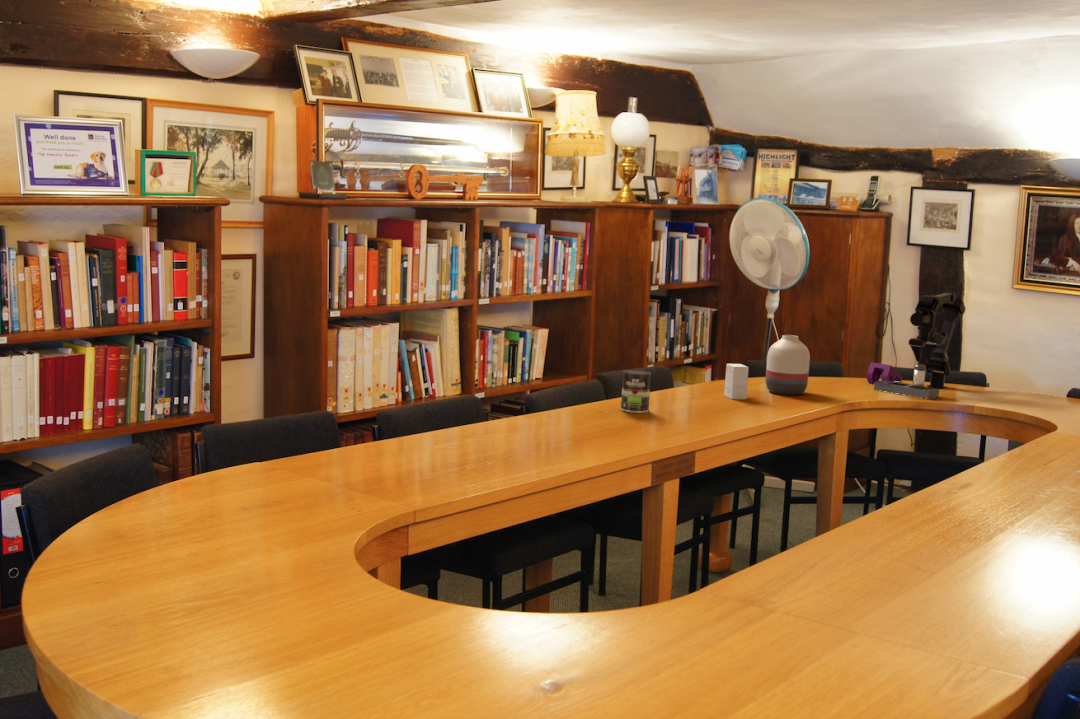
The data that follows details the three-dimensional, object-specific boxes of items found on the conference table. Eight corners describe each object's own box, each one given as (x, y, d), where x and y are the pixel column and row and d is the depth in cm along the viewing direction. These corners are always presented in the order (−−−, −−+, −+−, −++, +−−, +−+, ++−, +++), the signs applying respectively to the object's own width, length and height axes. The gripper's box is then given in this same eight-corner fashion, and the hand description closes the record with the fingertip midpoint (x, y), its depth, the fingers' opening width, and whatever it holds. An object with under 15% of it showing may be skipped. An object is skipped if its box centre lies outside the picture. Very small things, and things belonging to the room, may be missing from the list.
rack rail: (884, 387, 415) (885, 379, 414) (938, 397, 397) (939, 388, 397) (873, 390, 408) (874, 381, 408) (928, 399, 391) (929, 390, 390)
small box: (746, 399, 374) (749, 366, 372) (731, 399, 373) (733, 366, 371) (738, 395, 382) (741, 363, 380) (723, 395, 381) (726, 363, 379)
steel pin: (914, 394, 402) (917, 363, 400) (924, 395, 399) (928, 365, 397) (909, 395, 399) (912, 364, 397) (919, 397, 396) (923, 366, 394)
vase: (789, 388, 404) (794, 332, 400) (815, 396, 388) (820, 338, 385) (756, 389, 397) (760, 333, 394) (781, 397, 382) (786, 339, 378)
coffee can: (648, 414, 339) (650, 375, 337) (619, 411, 341) (621, 373, 338) (650, 408, 349) (652, 370, 347) (622, 406, 351) (624, 368, 348)
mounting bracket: (880, 393, 436) (865, 379, 423) (885, 376, 437) (870, 362, 425) (900, 396, 429) (885, 382, 417) (905, 379, 431) (890, 365, 418)
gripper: (935, 328, 395) (931, 365, 397) (955, 326, 408) (951, 362, 410) (909, 325, 403) (906, 361, 406) (930, 323, 416) (926, 358, 418)
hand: (923, 361), depth 410 cm, fingers open, 9 cm apart
